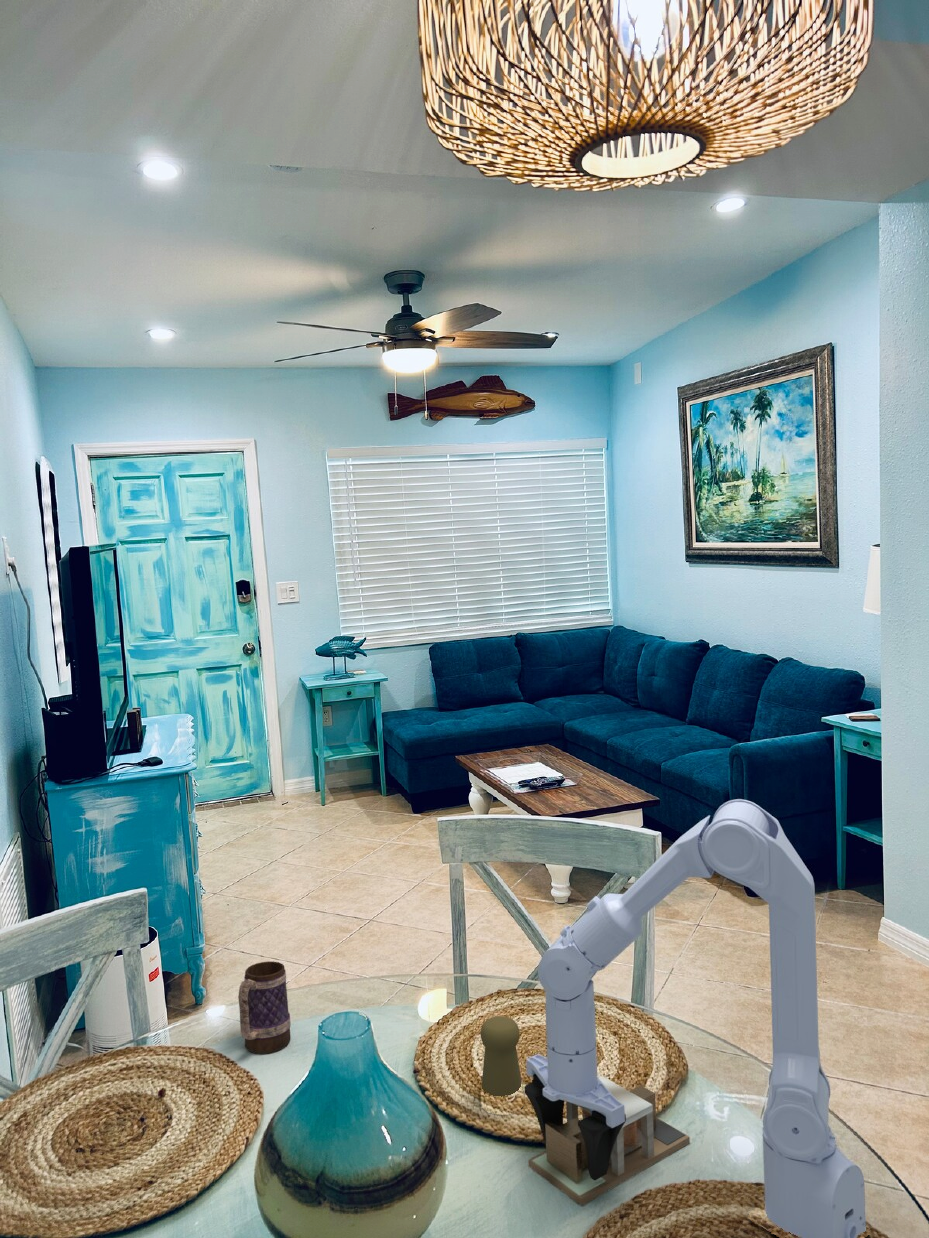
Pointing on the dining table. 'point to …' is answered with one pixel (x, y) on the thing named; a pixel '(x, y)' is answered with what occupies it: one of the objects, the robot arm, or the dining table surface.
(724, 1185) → the dining table surface
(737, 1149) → the dining table surface
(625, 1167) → the tunnel board
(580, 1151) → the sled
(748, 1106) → the dining table surface
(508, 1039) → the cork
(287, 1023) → the mug
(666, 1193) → the dining table surface
